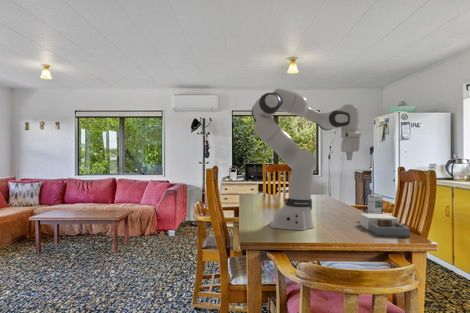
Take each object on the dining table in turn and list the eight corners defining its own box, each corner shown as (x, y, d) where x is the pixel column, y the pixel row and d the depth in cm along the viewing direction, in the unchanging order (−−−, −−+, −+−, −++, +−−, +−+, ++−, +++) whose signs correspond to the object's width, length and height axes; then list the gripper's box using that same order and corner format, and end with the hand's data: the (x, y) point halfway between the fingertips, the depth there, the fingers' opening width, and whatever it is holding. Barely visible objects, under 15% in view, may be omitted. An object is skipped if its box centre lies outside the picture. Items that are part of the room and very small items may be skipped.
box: (377, 236, 142) (378, 227, 142) (368, 230, 154) (368, 221, 154) (409, 237, 141) (409, 228, 141) (397, 230, 153) (397, 222, 153)
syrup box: (374, 221, 176) (374, 195, 176) (367, 219, 182) (367, 194, 182) (382, 220, 177) (383, 195, 177) (375, 218, 183) (375, 194, 183)
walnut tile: (378, 228, 154) (380, 230, 151) (378, 218, 154) (381, 219, 151) (388, 229, 153) (391, 230, 150) (389, 218, 153) (391, 220, 150)
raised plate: (368, 230, 154) (368, 217, 154) (360, 224, 166) (360, 213, 166) (397, 230, 153) (397, 218, 153) (387, 225, 165) (387, 214, 165)
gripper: (338, 136, 181) (338, 159, 181) (349, 133, 161) (349, 160, 161) (349, 136, 181) (349, 160, 181) (362, 133, 160) (361, 160, 160)
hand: (349, 160), depth 170 cm, fingers closed
